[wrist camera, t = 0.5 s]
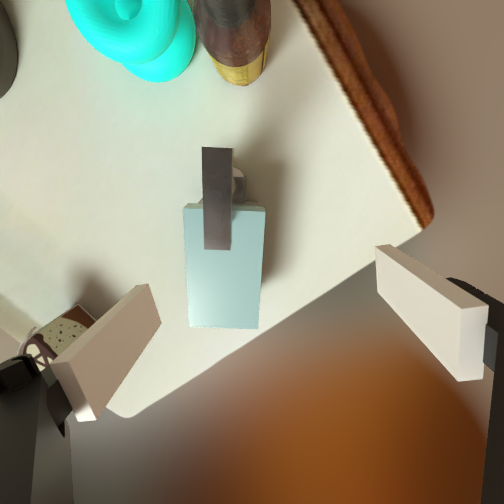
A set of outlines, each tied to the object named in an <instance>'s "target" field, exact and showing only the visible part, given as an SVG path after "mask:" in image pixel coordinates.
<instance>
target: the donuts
mask: <svg viewBox="0 0 504 504" xmlns="http://www.w3.org/2000/svg"><path fill="white" fill-rule="evenodd" d="M65 2H66V5H67V8H68V11H69V13H70V15H71V17H72V19H73V21H74V23H75V25H76V26H77V28H78V29H79V31H80V32H81V34H82V35H83V36H84V38H85V39H86V40H87V41H88V42H89V43H90V44H91V45H92V46H93V47H94V48H95V49H96V50H97V51H99V52H100V53H102V54H103V55H105V56H106V57H108V58H110V59H112V60H114V61H116V62H119V63H122V64H123V66H124V67H125V68H126V69H127V70H129V71H130V72H131V73H133V74H134V75H136V76H137V77H139V78H141V79H143V80H146V81H150V82H165V81H169V80H172V79H174V78H176V77H177V76H179V75H180V74H181V73H182V72H183V71H184V70H185V69H186V67H187V66H188V64H189V63H190V61H191V59H192V56H193V53H194V49H195V43H196V27H195V21H194V17H193V14H192V11H191V8H190V6H189V4H188V2H187V0H65Z"/></svg>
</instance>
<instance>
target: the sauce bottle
mask: <svg viewBox="0 0 504 504" xmlns="http://www.w3.org/2000/svg"><path fill="white" fill-rule="evenodd" d="M194 18H195V24H196V28H197V31H198V35H199V37H200V39H201V41H202V43H203V45H204V47H205V49H206V51H207V52H208V54H209V56H210V58H211V59H212V61H213V63H214V65H215V67H216V69H217V71H218V72H219V74H220V75H221V76H222V77H223V78H224V79H225V80H226V81H227V82H229V83H231V84H233V85H239V86H247V85H249V84H250V83H252V82H253V81H255V80H256V79H257V78H258V77H259V76H260V75H261V73H262V71H263V69H264V67H265V64H266V59H267V53H268V44H269V37H270V28H271V5H270V0H195V2H194Z"/></svg>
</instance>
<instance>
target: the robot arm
mask: <svg viewBox="0 0 504 504" xmlns="http://www.w3.org/2000/svg"><path fill="white" fill-rule="evenodd" d="M16 67H17V47H16V41H15V36H14V32H13V29H12V26H11V23H10V21H9V18H8V16H7V14H6V12H5V10H4V8H3V6H2V4H1V2H0V98H1V97H2V96H3V95H4V94H5V93H6V92H7V91H8V89H9V88H10V86H11V84H12V82H13V79H14V76H15V73H16ZM375 256H376V274H377V291H378V293H379V294H380V295H381V296H382V297H383V298H384V299H385V301H386V302H387V303H388V304H389V305H390V306H391V307H392V308H393V309H394V311H395V312H396V313H397V314H398V315H399V316H400V317H401V318H402V320H403V321H404V322H405V323H406V324H407V325H408V326H409V327H410V329H411V330H412V331H413V332H414V333H415V334H416V335H417V336H418V337H419V338H420V340H421V341H422V342H423V343H424V344H425V345H426V346H427V347H428V349H429V350H430V351H431V352H432V353H433V354H434V355H435V356H436V357H437V359H438V360H439V361H440V362H441V363H442V364H443V365H444V366H445V367H446V368H447V370H448V371H449V372H450V373H451V374H452V375H453V376H454V377H455V379H456V380H457V381H467V380H476V379H483V370H484V364H486V365H487V366H488V367H489V368H490V369H491V370H492V371H493V372H494V380H493V390H492V400H491V409H490V419H489V428H488V438H487V448H486V457H485V467H484V477H483V487H482V497H481V504H504V304H503V303H501V302H500V301H498V300H496V299H494V298H493V297H491V296H489V295H487V294H484V292H482V291H480V290H479V289H476V288H475V287H473V286H472V285H470V284H468V283H466V282H464V281H461V280H458V279H454V278H444V277H442V276H440V275H439V274H437V273H435V272H434V271H432V270H431V269H429V268H427V267H426V266H424V265H422V264H421V263H419V262H418V261H416V260H414V259H413V258H411V257H409V256H408V255H406V254H404V253H403V252H401V251H400V250H398V249H397V248H395V247H393V246H392V245H390V244H388V245H382V246H375ZM161 324H162V323H161V320H160V317H159V314H158V311H157V308H156V305H155V302H154V299H153V296H152V293H151V290H150V287H149V284H143V285H136V286H135V287H134V288H133V289H132V290H131V291H130V292H129V293H127V294H126V295H125V296H124V297H123V298H122V299H121V300H120V301H119V302H118V303H116V304H115V305H114V306H113V307H112V308H111V309H110V310H109V311H108V312H106V313H105V314H104V315H103V316H102V317H101V318H100V319H99V320H98V321H96V322H95V323H94V324H93V325H92V326H91V327H90V328H89V329H88V330H86V331H85V332H84V333H83V334H82V335H81V336H80V337H79V338H78V339H76V340H75V341H74V342H73V343H72V344H71V345H70V346H69V347H68V348H66V349H65V350H64V351H63V352H62V353H61V354H60V355H59V356H58V357H56V358H55V359H54V360H53V361H52V362H51V363H50V364H49V365H48V366H47V367H45V368H44V369H43V370H42V371H41V372H40V370H39V368H38V366H37V364H36V362H35V360H34V358H33V356H32V355H31V354H22V355H18V356H16V357H13V358H11V359H9V360H7V361H5V362H3V363H1V364H0V504H74V497H73V481H72V465H71V448H70V432H69V425H68V423H67V421H66V417H67V416H68V415H69V414H70V412H71V411H72V410H73V412H74V414H75V416H76V418H77V420H78V422H82V421H91V420H97V418H98V417H99V415H100V414H101V413H102V411H103V410H104V408H105V407H106V405H107V404H108V402H109V401H110V399H111V398H112V396H113V395H114V393H115V392H116V390H117V389H118V387H119V386H120V384H121V383H122V381H123V380H124V378H125V377H126V375H127V374H128V372H129V371H130V370H131V368H132V367H133V365H134V364H135V362H136V361H137V359H138V358H139V356H140V355H141V353H142V352H143V350H144V349H145V347H146V346H147V344H148V343H149V341H150V340H151V338H152V337H153V335H154V334H155V332H156V331H157V330H158V328H159V327H160V325H161Z"/></svg>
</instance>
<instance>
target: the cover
mask: <svg viewBox="0 0 504 504" xmlns="http://www.w3.org/2000/svg"><path fill="white" fill-rule="evenodd" d="M265 213H266V212H265V207H260V206H237V205H233V212H232V245H231V250H230V251H229V250H204V227H203V204H193V203H188V204H187V205H186V206H185V207H184V208H183V220H184V240H185V260H186V280H187V300H188V320H189V327H210V328H238V329H258V320H259V305H260V289H261V274H262V259H263V244H264V228H265Z"/></svg>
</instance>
